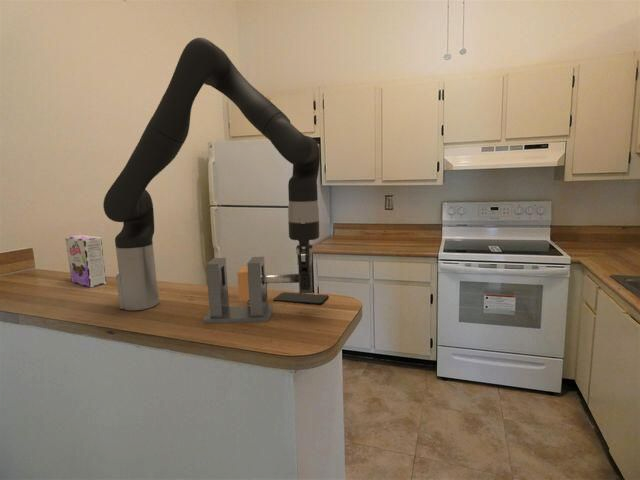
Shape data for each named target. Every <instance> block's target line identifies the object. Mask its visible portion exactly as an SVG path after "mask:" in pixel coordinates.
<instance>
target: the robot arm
mask: <svg viewBox="0 0 640 480" xmlns="http://www.w3.org/2000/svg"><path fill="white" fill-rule="evenodd" d="M204 85H206V86H211V88H213V89H215V90H217V91H218V92H220V93H221V94H223V95H224V96H226V97H227V98H228V99H229V100H230V101H231V102H233V104H235V106H236V107H237V108H238V109H239V111H240V112H241V114H242V115H243V116H244V117H245V118H246V119H247V121H248V122H249V123H250V124H251V125H252V126H253V127H254V128H255V129H256V130H257V131H258V132H260V133H261V134H262V135H263V136H264V137H265V138H266V139H267V140H269V141H270V142H271V144H272V146H273V147H274V148H275V149H276V150H277V152H278V153H279V154H280V155H281V156H282V157H283V158H284V159H285V160H286V161H287V162H289V164H291V165H292V175H291V177H290V178H289V180H288V185H287V188H288V208H287V219H288V220H287V221H288V238H289V239H290V240H291V241H292V240H293V241H298V244H297V245H296V247H295V251H296V252H295V253H296V256H297V260H296V261H297V264H296V265H297V266H299V268H298V274H299V275H300V280H301V290H309V289H310V277H309V275H310V266H311V267H312V264H313V263H312V262H313V251H314V250H313V249H314V247H313V244H311V243H310V241H314V240H315V241H316V240H317V239H319V238H320V208H319V202H318V200H319V199H318V198H319V197H318V194H319V193H318V176H319V169H320V163H321V162H320V161H321V160H320V159H321V155H320V153H321V152H320V146H319V144H318V142H317V141H316V139H315V138H313V137H311V136H309V135H305V134H303V133H302V132H301V131H300V130H299V129H298V128H297V127H295V126H294V125H293V124H292V123H291V120H290V119H289V118H288V117H289V116H287V115H286V114H285V113H284V112H283V111H282V110H280V109H279V108H278V107H277V105H275V104H274V103H273V102H272V101H271V100H270V99H269V98H267V97H266V96H265V95H263V93H262V92H260V91H259V90H257V89H256V88H255V87H254V86H253V85H252V84H251V83H250V82H249V81H248V80H247V79H246V78H245V77H244V76H243V74H241V72H240V71H239V70H238V68H237V67H236V66H235V64H234V63H233V62H232V60H231V59H230V57H229V56H228V55H227V54H226V52H225V51H224V50H222V49H221V48H220V47H219V46H217V44H214V43H213V42H212V41H210V40H209V39H206V38H205V37H196V38H194V39H191V40H190V41H189V42H188V43H187V44H186V45H185V47H184V48H183V50H182V52H181V54H180V57H179V59H178V61H177V64H176V66H175V68H174V71H173V74H172V76H171V79H170V82H169V84H168V86H167V88H166V90H165V91H164V93H163V96H162V97H161V99H160V101H159V102H158V103H159V104H158V105H157V107H156V109H155V111H154V113H153V115H152V116H151V118H150V119H149V121H148V123H147V125H146V127H145V129H144V131H143V133H142V135H141V137H140V138H139V141H138V142H137V145H136V146H135V148H134V149H133V151H132V153H131V155H130V157H129V158H128V161H127V163H126V164H125V166H124V167H123V169H122V170H121V172H120V174H119V175H118V176H117V178H116V179H115V180H114V181H113V183H112V184H111V186H110V188H109V189H108V190H107V192H106V194H105V195H104V199H103V211H104V214H105V215H106V217H107V218H108V220H111V221H113V222H116V223H122V224H123V226H122V227H121V230H120V232H119V233H118V234H117V235H116V236H115V238H114V245H115V253H116V261H117V267H118V268H117V269H118V274H116V276H115V280H116V281H115V282H116V287H117V296H118V297H117V298H118V305H119V309H120V310H125V311H140V310H147V309H151V308H153V307H155V306H158V305H159V304H160V298H159V297H160V296H159V289H158V282H157V281H158V280H157V271H156V262H155V261H156V260H155V253H154V252H155V251H154V244H153V243H154V242H153V237H154V234H155V213H154V211H155V210H154V203H153V199H152V196H151V195H150V193H149V191H148V190H146V188H147V187H148V185H149V184H150V183H151V181H153V180H154V178H155V177H157V176H158V175H159V174H160V173H161V172H162V171H164V169H165V168H167V167H168V166H169V165H170V164H171V163H172V162H173V161H174V160H175V158H176V156H177V155H178V154H179V152H180V150H181V149H182V147H183V145H184V144H185V142H186V139H187V138H188V135H189V131H190V125H191V115H192V114H191V113H192V108H193V104H194V103H195V99H196V97H198V95H199V92H200V91H201V89H202V88H203V86H204ZM305 267H306V268H307V270H302V268H305Z"/></svg>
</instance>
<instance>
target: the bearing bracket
mask: <svg viewBox="0 0 640 480" xmlns="http://www.w3.org/2000/svg"><path fill="white" fill-rule="evenodd" d="M226 261H227V259H226V257H213V258H212V259H211V260H209V261H208V262H207V263H205V270H206V280H207V282H206V283H207V294H208V305H209V306H208V307H209V311H208V313H207V314H206V315H205V316H204V318H203V319H202V323H203V324H226V323H231V324H233V323H234V324H235V323H263V322H264V323H266V322H267V323H268V322H270V319H271V316H272V313H273V311H274V305H273V304H272V305H271V304H268V300H267V298H268V297H267V298H266V283H265V284H262V275H266V264H265V256H252V257H251V258H250V259H249V261H248V262H247V265H248V281H249V297H250V304H249V305H231V306H230V297H229V287H228V273H227V272H228V271H227V262H226Z"/></svg>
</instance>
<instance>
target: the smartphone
mask: <svg viewBox="0 0 640 480" xmlns="http://www.w3.org/2000/svg"><path fill="white" fill-rule="evenodd" d="M327 300H329V295H328V294H317V295H315V294H314V293H299V292H298V293H297V292H282V293H280V294H277V296H275V297H274V298H273V302H279V303H287V304H289V303H292V304H301V305H312V306H322V305H323V304H325V302H326V301H327Z"/></svg>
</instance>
